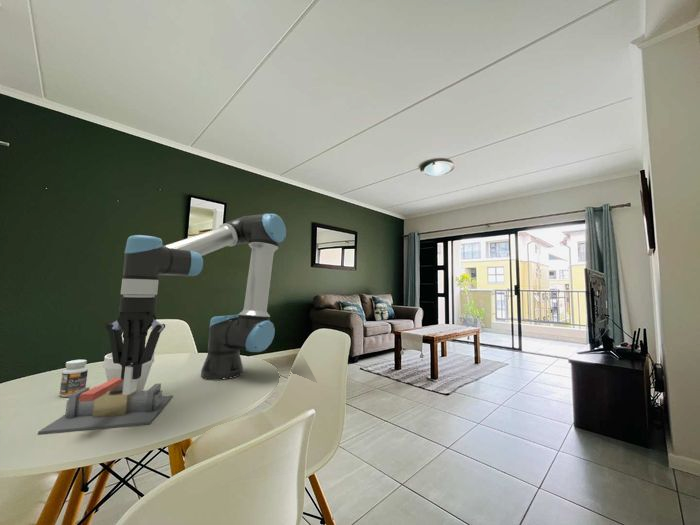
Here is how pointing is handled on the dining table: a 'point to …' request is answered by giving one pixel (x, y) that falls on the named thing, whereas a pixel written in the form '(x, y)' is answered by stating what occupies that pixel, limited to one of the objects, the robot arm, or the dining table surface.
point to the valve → (114, 403)
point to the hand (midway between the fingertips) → (129, 392)
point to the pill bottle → (73, 377)
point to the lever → (102, 389)
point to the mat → (104, 420)
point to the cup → (115, 369)
